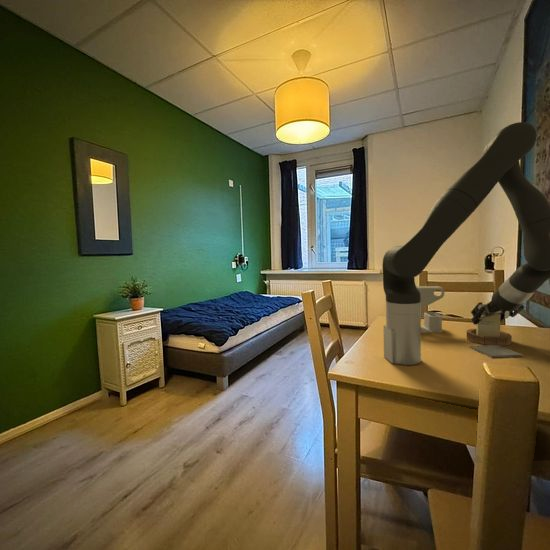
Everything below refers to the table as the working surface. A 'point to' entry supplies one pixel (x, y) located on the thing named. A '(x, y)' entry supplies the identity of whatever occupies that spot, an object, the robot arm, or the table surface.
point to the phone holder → (430, 318)
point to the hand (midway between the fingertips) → (485, 321)
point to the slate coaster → (496, 351)
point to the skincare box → (489, 326)
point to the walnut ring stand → (489, 338)
